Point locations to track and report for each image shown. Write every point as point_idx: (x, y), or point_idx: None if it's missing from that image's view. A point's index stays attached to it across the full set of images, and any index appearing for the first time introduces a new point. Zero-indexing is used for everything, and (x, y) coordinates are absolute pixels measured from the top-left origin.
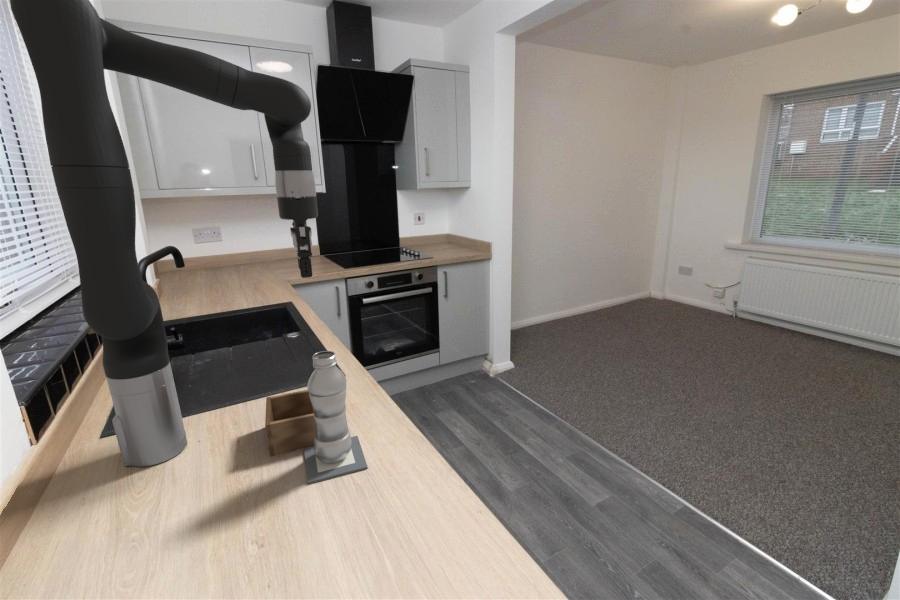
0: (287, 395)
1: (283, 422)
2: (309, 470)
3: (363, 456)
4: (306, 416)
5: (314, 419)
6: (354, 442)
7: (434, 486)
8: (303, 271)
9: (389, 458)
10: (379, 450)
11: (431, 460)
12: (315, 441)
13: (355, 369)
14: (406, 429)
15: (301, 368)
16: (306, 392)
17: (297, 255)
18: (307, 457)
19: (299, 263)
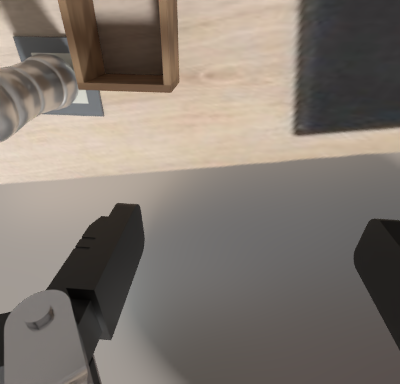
0: (160, 19)
1: (60, 7)
2: (35, 41)
3: (57, 113)
4: (71, 52)
5: (12, 66)
6: (88, 109)
7: (9, 165)
8: (84, 235)
9: (56, 139)
10: (72, 133)
11: (48, 175)
12: (26, 59)
13: (310, 155)
14: (108, 172)
15: (392, 57)
16: (162, 60)
17: (26, 321)
18: (64, 41)
19: (393, 249)
